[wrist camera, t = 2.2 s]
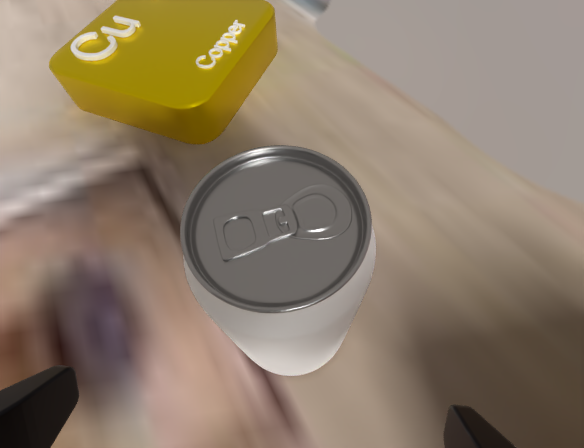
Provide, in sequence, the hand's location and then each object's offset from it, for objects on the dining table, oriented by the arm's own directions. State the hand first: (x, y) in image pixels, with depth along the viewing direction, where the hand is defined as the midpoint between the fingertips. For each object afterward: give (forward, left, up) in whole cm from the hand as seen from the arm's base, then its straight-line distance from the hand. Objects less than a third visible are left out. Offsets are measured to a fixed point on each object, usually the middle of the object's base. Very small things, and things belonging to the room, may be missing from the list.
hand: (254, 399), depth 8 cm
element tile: (+17, +24, -12) cm, 32 cm away
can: (+4, +2, -12) cm, 13 cm away
